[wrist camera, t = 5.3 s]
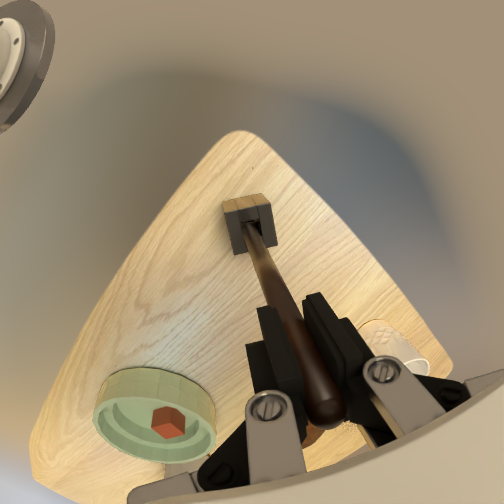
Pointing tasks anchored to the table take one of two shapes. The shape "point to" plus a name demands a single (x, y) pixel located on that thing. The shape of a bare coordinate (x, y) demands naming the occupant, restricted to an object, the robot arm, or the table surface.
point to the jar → (183, 467)
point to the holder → (245, 211)
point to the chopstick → (298, 339)
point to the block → (168, 422)
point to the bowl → (141, 411)
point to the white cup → (393, 345)
